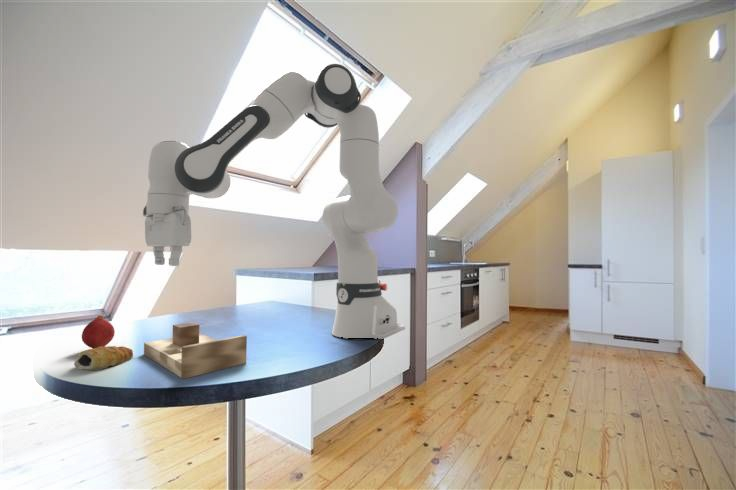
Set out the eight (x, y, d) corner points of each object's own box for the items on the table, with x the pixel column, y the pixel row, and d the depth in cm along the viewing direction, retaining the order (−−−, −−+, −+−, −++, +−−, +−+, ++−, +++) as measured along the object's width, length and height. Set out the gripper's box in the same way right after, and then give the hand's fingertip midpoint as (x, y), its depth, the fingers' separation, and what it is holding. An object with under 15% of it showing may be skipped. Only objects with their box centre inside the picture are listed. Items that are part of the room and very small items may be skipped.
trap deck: (200, 343, 84) (200, 321, 85) (246, 363, 70) (246, 335, 70) (143, 354, 75) (144, 329, 76) (183, 378, 61) (183, 347, 61)
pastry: (118, 355, 75) (118, 338, 75) (142, 359, 73) (142, 341, 73) (70, 369, 66) (70, 349, 66) (95, 374, 64) (95, 353, 64)
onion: (85, 355, 74) (86, 318, 74) (78, 351, 78) (79, 315, 78) (117, 349, 79) (118, 314, 79) (109, 345, 82) (109, 312, 82)
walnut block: (191, 339, 78) (191, 322, 78) (199, 343, 76) (199, 324, 76) (172, 343, 75) (172, 324, 75) (179, 346, 73) (179, 327, 73)
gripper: (199, 206, 80) (198, 266, 79) (167, 212, 93) (165, 264, 93) (170, 203, 75) (167, 266, 74) (140, 210, 88) (138, 264, 88)
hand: (166, 265), depth 84 cm, fingers open, 8 cm apart
